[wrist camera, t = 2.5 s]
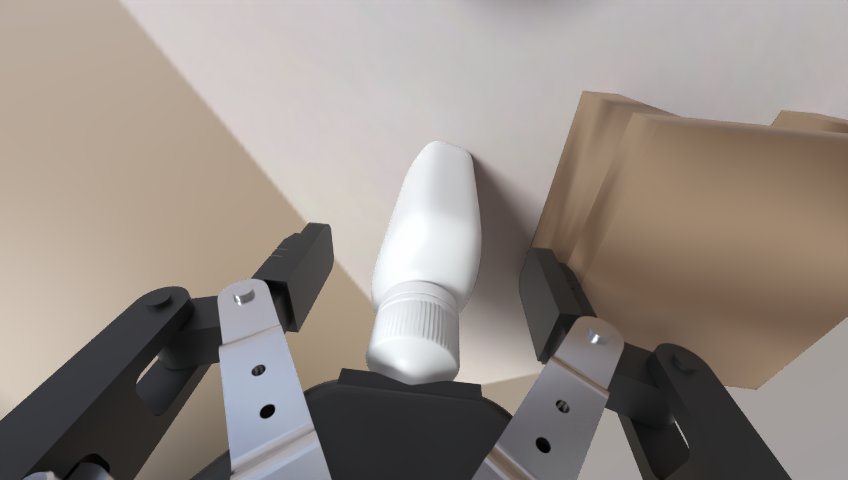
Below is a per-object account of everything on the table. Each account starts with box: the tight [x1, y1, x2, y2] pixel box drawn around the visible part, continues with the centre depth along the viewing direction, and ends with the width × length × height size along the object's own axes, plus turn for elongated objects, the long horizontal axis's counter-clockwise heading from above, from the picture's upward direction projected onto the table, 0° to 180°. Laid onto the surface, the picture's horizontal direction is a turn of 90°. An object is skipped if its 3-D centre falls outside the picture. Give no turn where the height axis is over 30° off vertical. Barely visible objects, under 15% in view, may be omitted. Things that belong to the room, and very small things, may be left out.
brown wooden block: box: [531, 91, 848, 390], centre depth 14 cm, size 11×10×6 cm
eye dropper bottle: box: [366, 141, 482, 385], centre depth 12 cm, size 4×6×12 cm
